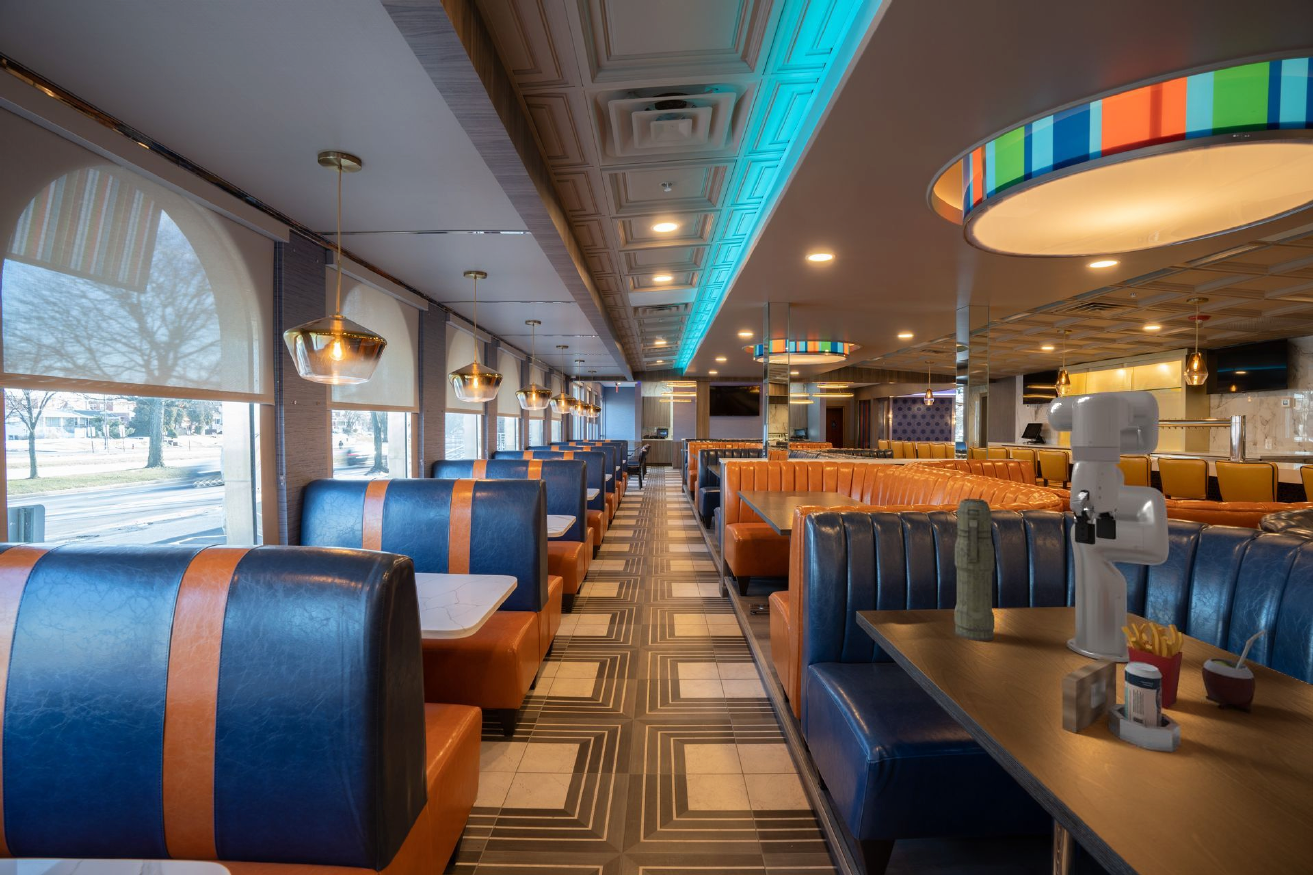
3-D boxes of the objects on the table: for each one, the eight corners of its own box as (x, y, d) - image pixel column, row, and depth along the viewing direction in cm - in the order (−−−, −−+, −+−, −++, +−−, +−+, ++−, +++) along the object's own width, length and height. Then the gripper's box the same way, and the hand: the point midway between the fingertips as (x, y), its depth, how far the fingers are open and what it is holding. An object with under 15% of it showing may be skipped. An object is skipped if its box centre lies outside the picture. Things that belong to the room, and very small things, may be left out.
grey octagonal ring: (1122, 719, 99) (1122, 699, 99) (1185, 741, 92) (1185, 720, 92) (1102, 732, 95) (1102, 712, 95) (1166, 756, 88) (1166, 735, 88)
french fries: (1172, 712, 102) (1172, 632, 102) (1116, 695, 109) (1116, 619, 109) (1187, 700, 106) (1187, 623, 106) (1133, 684, 113) (1133, 611, 113)
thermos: (956, 640, 138) (956, 501, 138) (952, 625, 149) (952, 496, 149) (997, 645, 134) (997, 503, 134) (990, 630, 145) (990, 498, 145)
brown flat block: (1103, 703, 105) (1103, 656, 105) (1118, 708, 103) (1118, 661, 103) (1062, 728, 96) (1062, 677, 96) (1078, 734, 94) (1078, 682, 94)
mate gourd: (1194, 700, 106) (1194, 623, 106) (1214, 692, 109) (1214, 618, 110) (1248, 718, 99) (1248, 636, 99) (1268, 709, 103) (1267, 629, 103)
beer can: (1169, 745, 91) (1169, 673, 91) (1136, 742, 92) (1136, 670, 92) (1149, 730, 96) (1149, 661, 96) (1118, 727, 96) (1118, 659, 96)
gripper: (1091, 454, 118) (1092, 534, 118) (1054, 456, 109) (1054, 542, 109) (1136, 455, 112) (1136, 539, 112) (1099, 457, 103) (1100, 548, 103)
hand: (1095, 540), depth 110 cm, fingers open, 9 cm apart
